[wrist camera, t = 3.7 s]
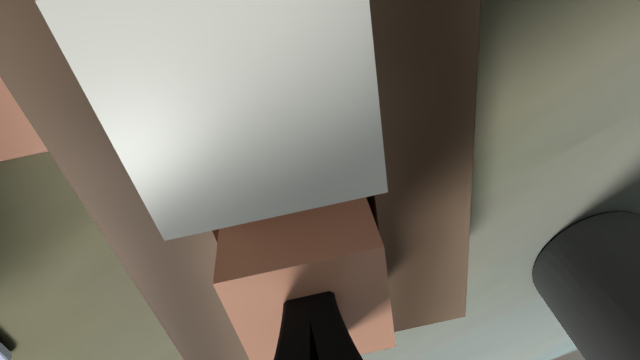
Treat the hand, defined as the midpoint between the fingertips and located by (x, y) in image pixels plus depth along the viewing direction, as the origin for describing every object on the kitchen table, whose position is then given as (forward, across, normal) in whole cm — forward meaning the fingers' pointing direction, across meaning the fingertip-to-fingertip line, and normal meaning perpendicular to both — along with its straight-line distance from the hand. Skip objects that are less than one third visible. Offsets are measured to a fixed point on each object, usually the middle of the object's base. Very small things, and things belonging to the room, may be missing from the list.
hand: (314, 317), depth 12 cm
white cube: (+3, 0, -7) cm, 8 cm away
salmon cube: (+4, 0, 0) cm, 4 cm away
